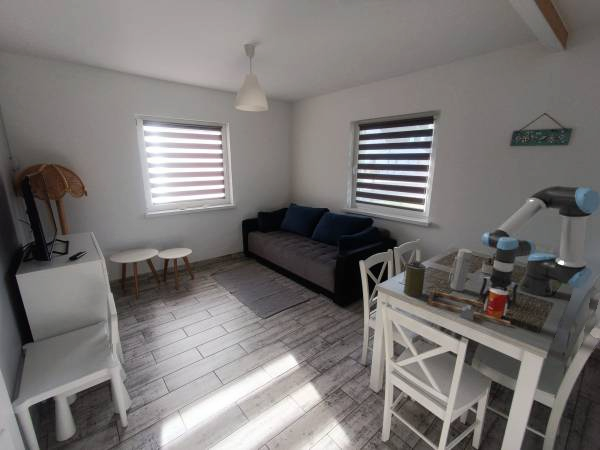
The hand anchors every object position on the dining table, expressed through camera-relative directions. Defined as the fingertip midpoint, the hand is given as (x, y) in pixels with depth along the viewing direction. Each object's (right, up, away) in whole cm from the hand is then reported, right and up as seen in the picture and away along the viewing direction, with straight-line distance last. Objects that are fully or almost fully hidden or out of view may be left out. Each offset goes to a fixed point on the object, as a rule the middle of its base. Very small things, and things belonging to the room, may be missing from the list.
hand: (494, 311), depth 133 cm
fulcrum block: (-14, -2, -1) cm, 15 cm away
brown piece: (-9, -1, +7) cm, 11 cm away
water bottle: (-3, +5, +29) cm, 29 cm away
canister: (-31, +3, +23) cm, 39 cm away
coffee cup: (0, -2, 0) cm, 2 cm away
